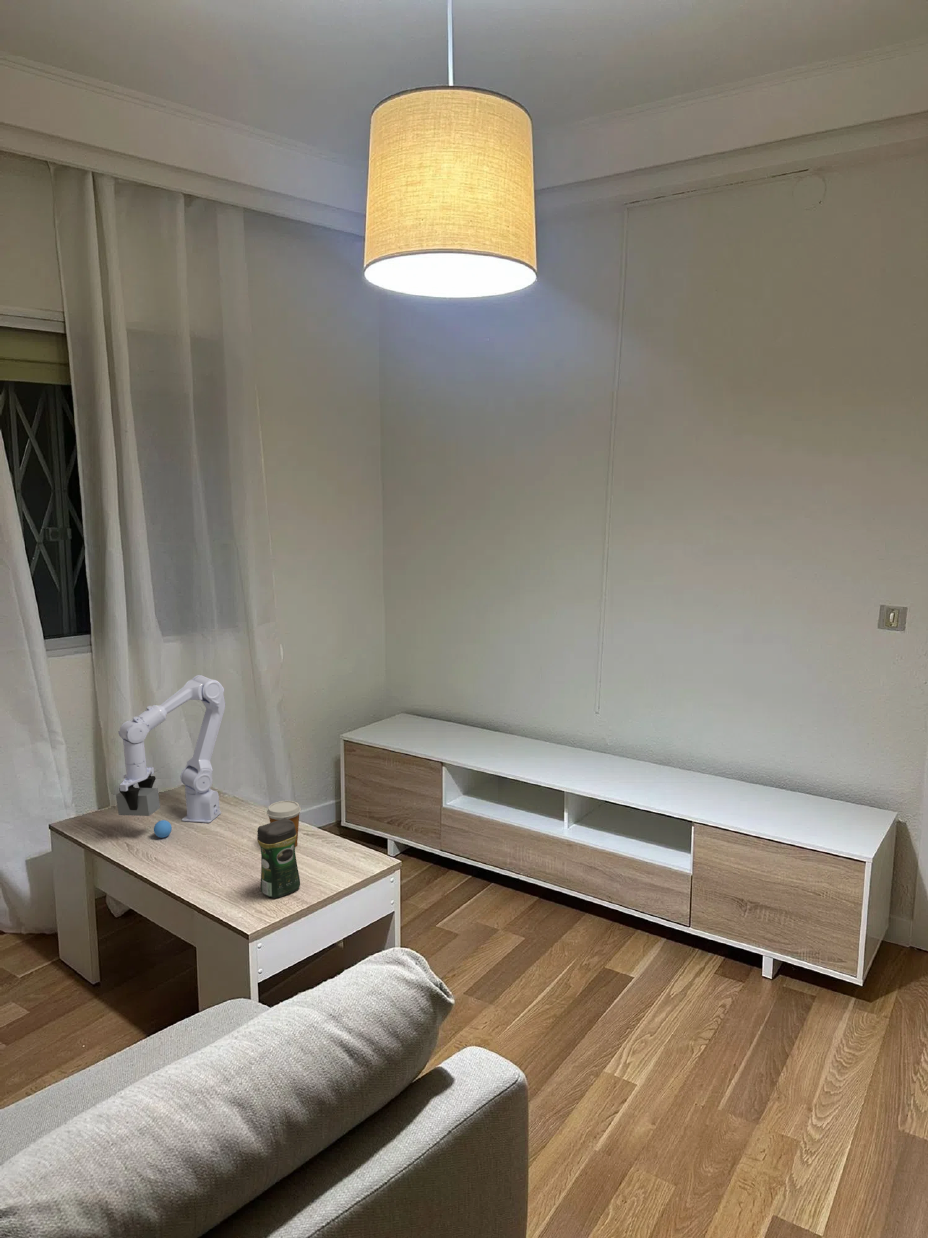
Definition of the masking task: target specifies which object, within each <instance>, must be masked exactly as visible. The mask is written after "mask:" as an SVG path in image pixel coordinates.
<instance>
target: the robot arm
mask: <svg viewBox="0 0 928 1238" xmlns="http://www.w3.org/2000/svg"><path fill="white" fill-rule="evenodd" d="M224 693H225V688H224V687H223V685H222V683H221V682H219V681H218V680H217V679H212V678H209V677H206V676H204V675H201V674H198V675H195V676H193V678H191V679H189V680H187V681H186V683H184V685H183V686H182V687H181V688H180V689H179V690H177V691H176V692H175V693H173V694H172V695H170V697H168V698H167V699H166V700H164V701H163V702H162V703H161V704H159V705H156V704H152V705H148V706H146V709H145V710H144V711H143V712H141V713H140V714H138V715H137V716H136V715H135V716H133V718H132V719H131V720H126V721H125V722H123V723H122V724H121V726H120V728H119V731H118V735H119V737H120V738H121V739H122V744H123V754H124V757H123V758H124V764H125V773H126V774H124V775H123V781H122V782H121V783H120V784H119V788H118V789H119V793H121V794H122V795H123V796H124V798H125V800H126V802H127V804H128V807H129V809H130V810H137V808H138V793H139V790H140V788H153V786H154V783H155V781H156V780H157V779H156V776H154V774H155V771H154V768H155V767H153V766H147V759H146V749H145V740H146V738H147V736H148V733H150V732H151V731H153V730H154V729H155V728H157V727H158V726H159V725H161V724H162V723H164V722H165V721H167V720H166V719H167V715H168V714H169V713H171V712H173V711H175V710H176V709H177V708H180V707H181V706H182V705H184V704H186V703H187V702H188V701H190V700H191V701H195V700H196V701H201V702H202V704H203V705H204V707H205V712H204V715H203V719H202V723H201V726H200V730H199V732H198V733H199V734H198V737H197V741H196V744H195V748H194V751H193V754H192V757H191V758H189V759H188V760H187V761H186V765H185V767H184V769H182V771H181V773H180V781H181V783H182V784H183V785H184V788H185V789H184V793H185V804H186V815H185V816H184V817H182V819H181V822H191V823H192V822H194V823H204V824H205V823H206V824H207V823H211V822H213V820H215V819H216V818H217V817H219V816H220V815H221V814H222V811H221V809H220V806H221V805H220V796H219V792H218V791H217V790H213V789H211V787H212V785H213V771H214V769H213V765H212V763H211V761H212V757H213V753H214V749H215V746H216V742H217V738H218V735H219V731H220V728H221V725H222V724H221V723H222V721H223V717H224V714H225V710H226V700H225V695H224ZM136 784H137V785H138V787H135V785H136Z"/></svg>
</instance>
